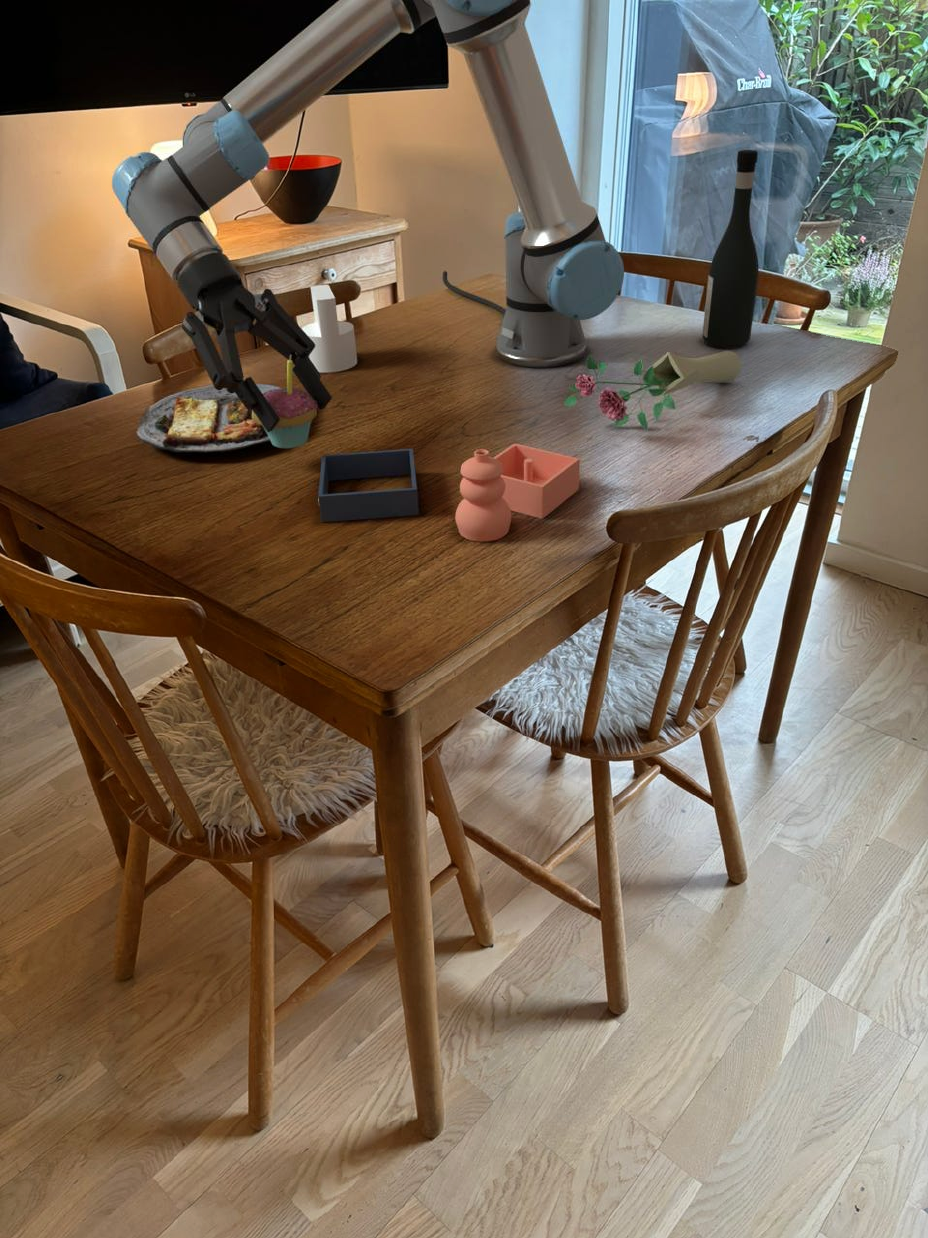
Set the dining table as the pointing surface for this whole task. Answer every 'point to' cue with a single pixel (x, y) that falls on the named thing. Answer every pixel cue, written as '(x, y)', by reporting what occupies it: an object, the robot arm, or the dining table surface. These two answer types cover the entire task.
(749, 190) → the wine bottle
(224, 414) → the food plate
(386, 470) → the rectangular frame
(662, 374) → the flower vase
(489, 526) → the pottery
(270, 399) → the cupcake
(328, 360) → the cylinder with rectangular tab
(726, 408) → the dining table surface
